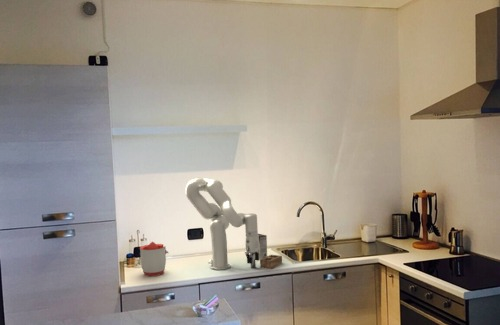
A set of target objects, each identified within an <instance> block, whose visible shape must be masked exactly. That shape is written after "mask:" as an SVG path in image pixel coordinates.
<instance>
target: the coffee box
mask: <svg viewBox="0 0 500 325" xmlns="http://www.w3.org/2000/svg"><path fill="white" fill-rule="evenodd" d="M258 237H259V244H260V250H259V260H258V261H260V260H261V259H263V258H265V257H267V256H268V240H267V239H268V237H267V235H266V234H262V233H258Z"/></svg>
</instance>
